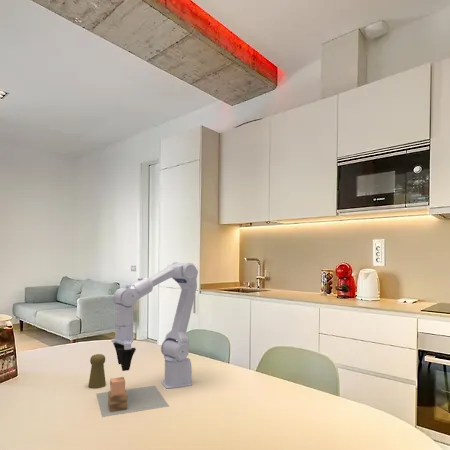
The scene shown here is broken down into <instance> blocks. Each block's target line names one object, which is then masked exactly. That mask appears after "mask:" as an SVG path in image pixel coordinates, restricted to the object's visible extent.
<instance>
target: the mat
mask: <svg viewBox="0 0 450 450" xmlns="http://www.w3.org/2000/svg"><path fill="white" fill-rule="evenodd" d="M125 391H126V393H127V410H121V411H115V412H110V411H109V407H108V391H106V392H99V393H95V395H96V398H97V403H98V406H99V411H100V415H101V417H102V418H103V417H105V418H106V417H110V416H111V417H112V416H118V415H124V414H129V413H130V414H131V413H136V412H142V411H148V410H156V409H161V408H167V407H170V405H169V404H168V402H167V401H166V399H165V397H164V396H163V395H162V394H161V392H160V391H159V390H158V388H157V387H156V385H149V386H148V385H147V386H142V387H133V388H125Z"/></svg>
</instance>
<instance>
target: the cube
mask: <svg viewBox="0 0 450 450" xmlns="http://www.w3.org/2000/svg"><path fill="white" fill-rule="evenodd" d="M109 385H110V386H109V391H110V393H111V396H117V395H124V394H125V390H126V379H125V377H124V376H122V377H112V378H110V380H109Z"/></svg>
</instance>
